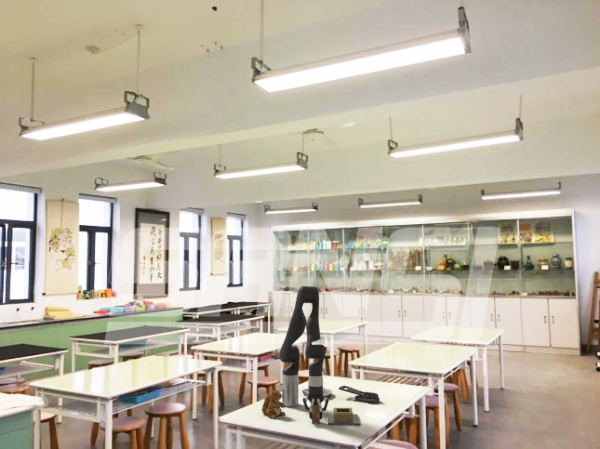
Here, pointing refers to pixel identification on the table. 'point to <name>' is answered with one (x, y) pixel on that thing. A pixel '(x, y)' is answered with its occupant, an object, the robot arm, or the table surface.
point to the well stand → (343, 417)
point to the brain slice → (325, 392)
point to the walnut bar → (315, 414)
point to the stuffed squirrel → (273, 404)
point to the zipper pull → (362, 395)
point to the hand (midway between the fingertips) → (315, 418)
